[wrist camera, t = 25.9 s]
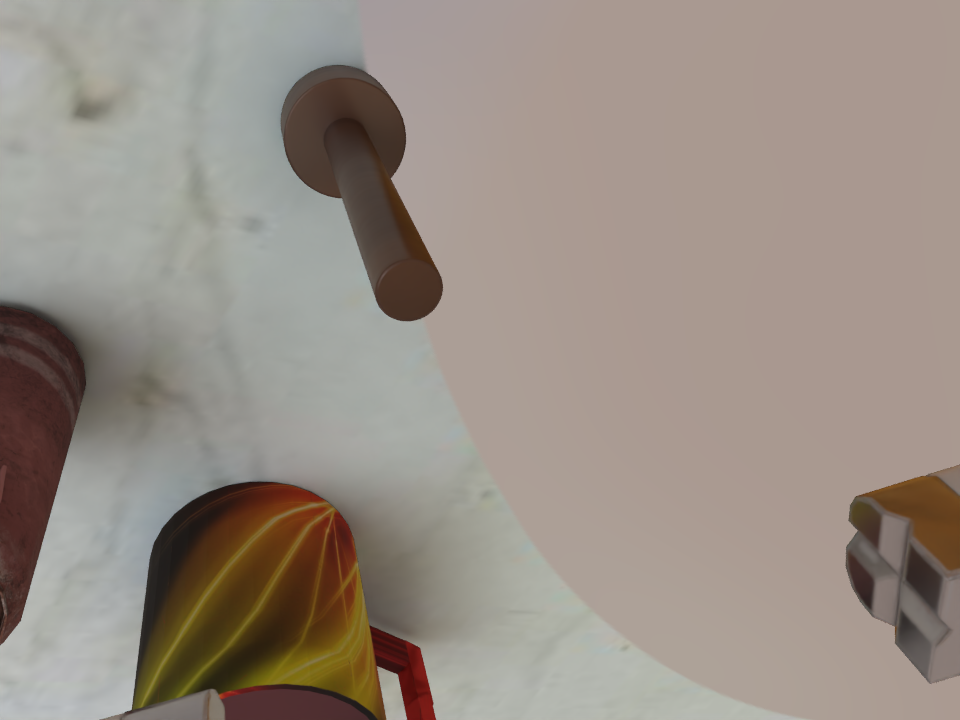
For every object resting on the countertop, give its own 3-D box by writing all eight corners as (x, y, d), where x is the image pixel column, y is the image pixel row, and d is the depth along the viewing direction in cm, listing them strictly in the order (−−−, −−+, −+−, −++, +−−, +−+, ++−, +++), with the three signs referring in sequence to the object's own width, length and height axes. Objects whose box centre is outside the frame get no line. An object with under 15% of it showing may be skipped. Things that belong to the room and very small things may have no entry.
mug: (412, 643, 48) (461, 851, 38) (139, 637, 44) (110, 871, 34) (456, 496, 44) (524, 684, 34) (161, 473, 40) (136, 683, 30)
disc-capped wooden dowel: (266, 78, 33) (291, 225, 20) (383, 53, 34) (486, 180, 20) (297, 191, 35) (338, 393, 22) (405, 166, 36) (513, 349, 22)
